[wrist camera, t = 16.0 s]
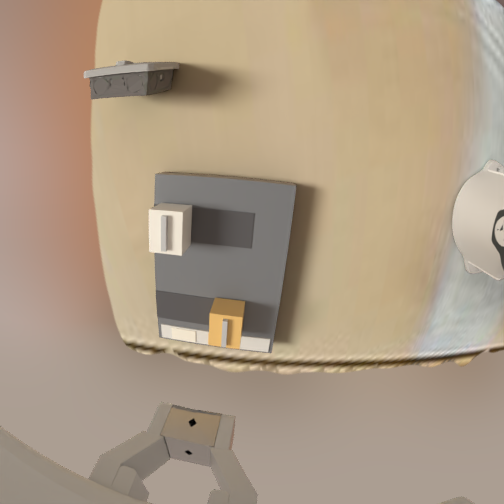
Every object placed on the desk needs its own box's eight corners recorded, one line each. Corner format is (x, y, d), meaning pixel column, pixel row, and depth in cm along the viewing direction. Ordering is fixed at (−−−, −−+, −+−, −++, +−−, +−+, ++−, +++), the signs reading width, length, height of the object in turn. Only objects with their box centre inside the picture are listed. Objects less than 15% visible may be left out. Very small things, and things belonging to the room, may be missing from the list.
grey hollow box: (182, 63, 31) (154, 48, 23) (177, 99, 33) (148, 94, 25) (120, 67, 31) (83, 58, 23) (116, 100, 33) (78, 99, 25)
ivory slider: (192, 205, 34) (181, 213, 30) (190, 244, 36) (180, 257, 32) (161, 202, 34) (146, 210, 30) (160, 241, 36) (147, 253, 32)
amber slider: (245, 301, 38) (242, 320, 34) (242, 331, 40) (238, 352, 35) (215, 297, 38) (208, 315, 34) (214, 328, 40) (207, 348, 36)
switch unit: (294, 183, 36) (296, 186, 33) (271, 341, 44) (271, 354, 41) (163, 172, 36) (154, 174, 33) (165, 326, 44) (158, 338, 41)
